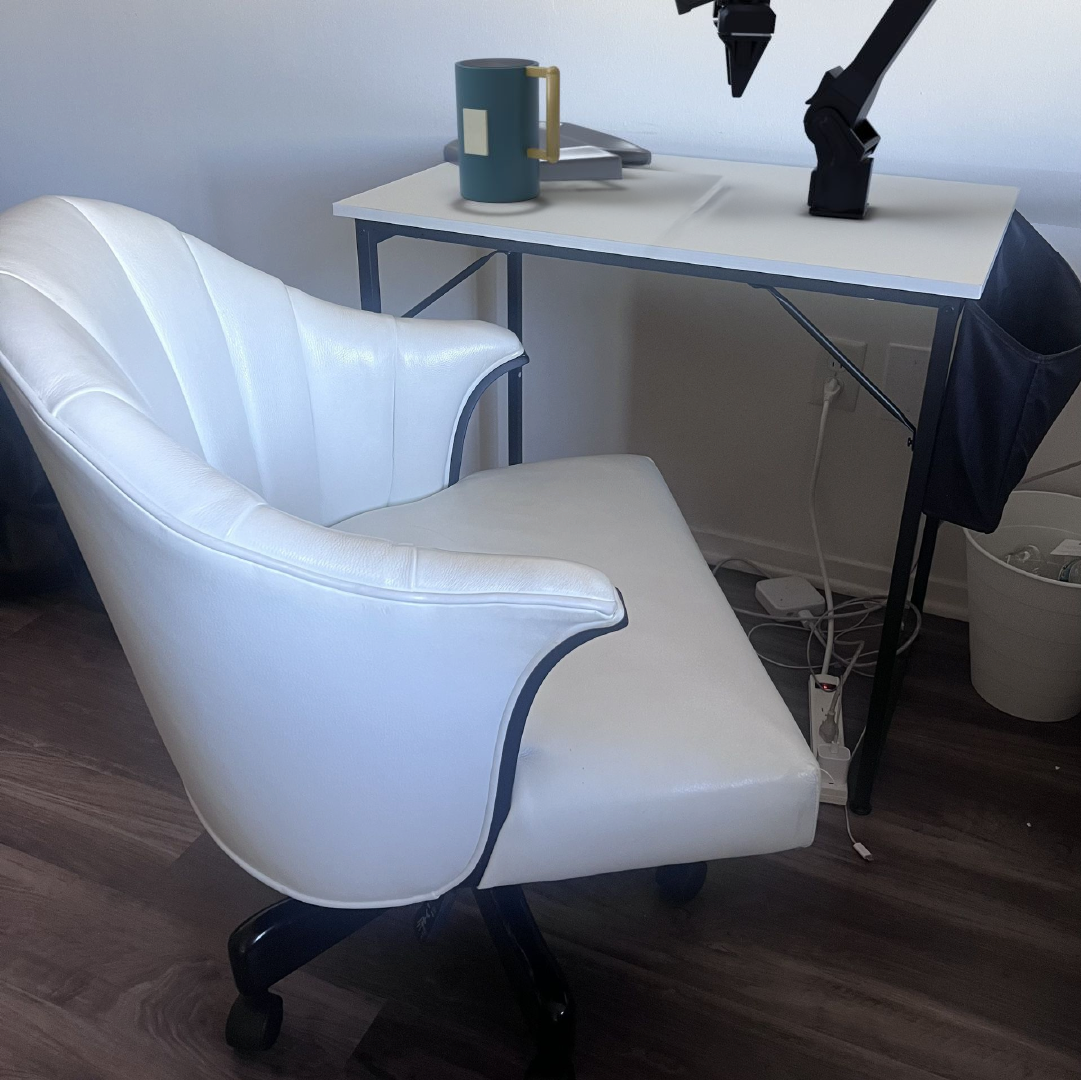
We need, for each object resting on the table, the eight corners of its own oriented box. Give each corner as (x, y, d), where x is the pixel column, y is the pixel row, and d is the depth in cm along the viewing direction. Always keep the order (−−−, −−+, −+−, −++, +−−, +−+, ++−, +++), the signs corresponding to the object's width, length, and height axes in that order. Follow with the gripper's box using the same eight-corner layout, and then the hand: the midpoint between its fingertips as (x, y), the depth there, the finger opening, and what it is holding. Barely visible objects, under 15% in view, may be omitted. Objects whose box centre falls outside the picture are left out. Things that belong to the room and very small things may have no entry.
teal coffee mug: (575, 201, 126) (576, 64, 118) (504, 213, 121) (501, 71, 113) (510, 180, 136) (508, 53, 128) (443, 191, 131) (436, 59, 123)
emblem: (676, 123, 149) (594, 158, 128) (674, 162, 152) (593, 202, 131) (507, 109, 161) (406, 139, 140) (508, 145, 163) (409, 180, 142)
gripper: (677, -62, 126) (667, 77, 135) (679, -55, 111) (668, 102, 119) (770, -60, 125) (754, 80, 134) (785, -53, 110) (766, 105, 118)
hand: (734, 91), depth 126 cm, fingers open, 9 cm apart
